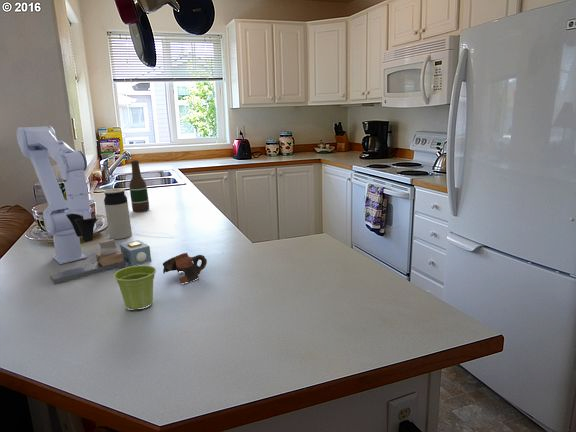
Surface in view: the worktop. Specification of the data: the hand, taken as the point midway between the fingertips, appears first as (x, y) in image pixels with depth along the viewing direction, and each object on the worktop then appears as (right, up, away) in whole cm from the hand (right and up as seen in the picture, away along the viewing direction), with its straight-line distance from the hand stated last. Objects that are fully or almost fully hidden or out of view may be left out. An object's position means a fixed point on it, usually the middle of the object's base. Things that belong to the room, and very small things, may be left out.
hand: (84, 238), depth 126 cm
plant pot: (+25, -15, -24) cm, 38 cm away
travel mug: (-3, -1, +34) cm, 34 cm away
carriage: (+7, -7, +2) cm, 10 cm away
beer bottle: (-10, +9, +77) cm, 78 cm away
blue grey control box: (+13, -7, +7) cm, 17 cm away
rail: (+2, -10, -1) cm, 10 cm away
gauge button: (+13, -5, +7) cm, 15 cm away
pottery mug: (+33, -11, -8) cm, 35 cm away
